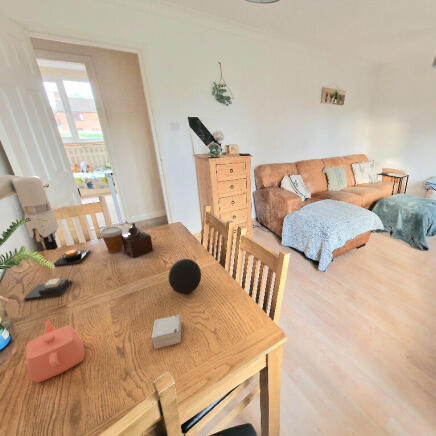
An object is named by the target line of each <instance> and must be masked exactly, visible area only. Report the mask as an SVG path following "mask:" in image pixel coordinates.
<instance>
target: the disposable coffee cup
mask: <svg viewBox="0 0 436 436" xmlns="http://www.w3.org/2000/svg"><path fill="white" fill-rule="evenodd" d="M123 231H124V230H123V229H122V227H120V226H109V227H106V228H103V229H101V230H100V233H99V235H100V236H101V237H102V240H103V242H104V244H105V246H106V248H107V251H108V252H109V253H110V254H117V253H120V252H122V251H124V247H123V243H122V239H121V236H123Z"/></svg>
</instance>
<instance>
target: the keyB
mask: <svg viewBox="0 0 436 436" xmlns="http://www.w3.org/2000/svg"><path fill="white" fill-rule="evenodd" d="M64 253H65V254H66V256H73V255H75V254H77V252H76V249H70V250H67V251H66V252H64Z"/></svg>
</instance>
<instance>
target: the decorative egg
mask: <svg viewBox="0 0 436 436" xmlns="http://www.w3.org/2000/svg"><path fill="white" fill-rule="evenodd" d="M201 280H202V270H201V268H200V266H199V264H198V263H197V262H196V261H194V260H192V259H190V258H183V259H179V260H177V261H175V263H174V264H173V265H172V266H171V267H170V269H169V271H168V283H169V286H170V287H171V289H172V290H173V291H174V292H176V293H178V294H180V295H181V294H182V295H188V294H191V293H192V292H194V291H195V290H196V289H198V287H199V286H200V283H201Z"/></svg>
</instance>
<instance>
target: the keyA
mask: <svg viewBox="0 0 436 436" xmlns="http://www.w3.org/2000/svg"><path fill="white" fill-rule="evenodd" d="M61 279H62V278H53V279H48V281H46V282H45V283H46V284H45V285H44V286H45V288H52V287H57V286H58V285H59V284H60V283H61Z"/></svg>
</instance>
